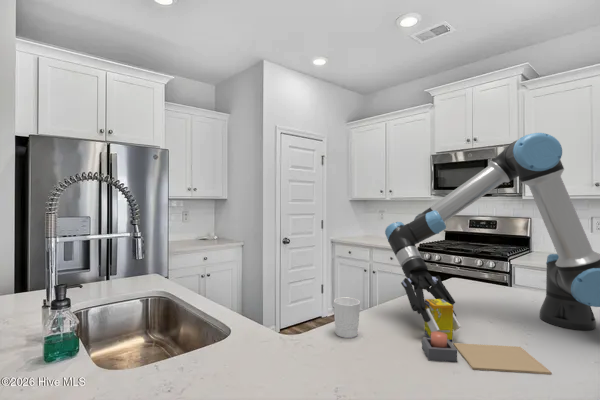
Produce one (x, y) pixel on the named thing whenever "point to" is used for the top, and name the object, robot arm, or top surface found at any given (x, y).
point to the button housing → (439, 351)
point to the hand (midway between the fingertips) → (446, 330)
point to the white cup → (346, 316)
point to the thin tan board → (500, 358)
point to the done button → (438, 339)
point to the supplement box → (440, 316)
